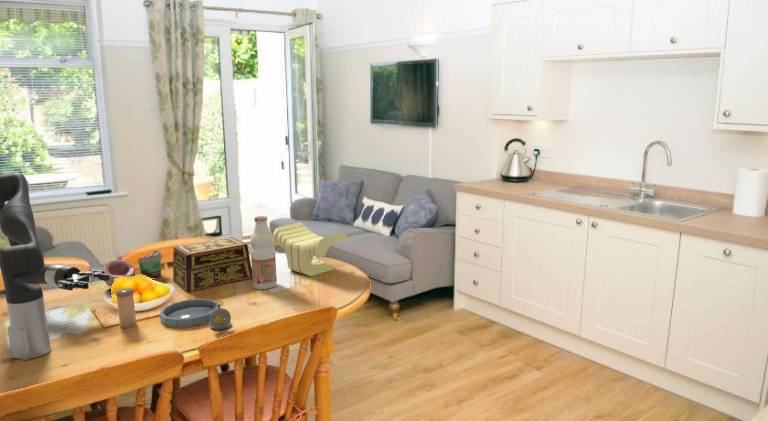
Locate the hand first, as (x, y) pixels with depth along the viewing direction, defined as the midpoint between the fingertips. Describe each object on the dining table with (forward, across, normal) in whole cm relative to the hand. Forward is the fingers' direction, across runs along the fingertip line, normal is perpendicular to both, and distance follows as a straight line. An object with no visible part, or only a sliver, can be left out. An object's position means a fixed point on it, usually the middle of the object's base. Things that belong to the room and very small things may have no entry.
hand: (98, 281), depth 193 cm
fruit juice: (+34, +49, +14) cm, 61 cm away
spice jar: (+12, 0, +14) cm, 18 cm away
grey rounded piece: (+43, +8, +14) cm, 45 cm away
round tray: (+27, +13, +14) cm, 33 cm away
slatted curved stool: (+41, +73, +14) cm, 85 cm away
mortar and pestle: (-21, +29, +15) cm, 39 cm away
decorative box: (+8, +49, +15) cm, 52 cm away
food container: (-17, +44, +15) cm, 49 cm away
